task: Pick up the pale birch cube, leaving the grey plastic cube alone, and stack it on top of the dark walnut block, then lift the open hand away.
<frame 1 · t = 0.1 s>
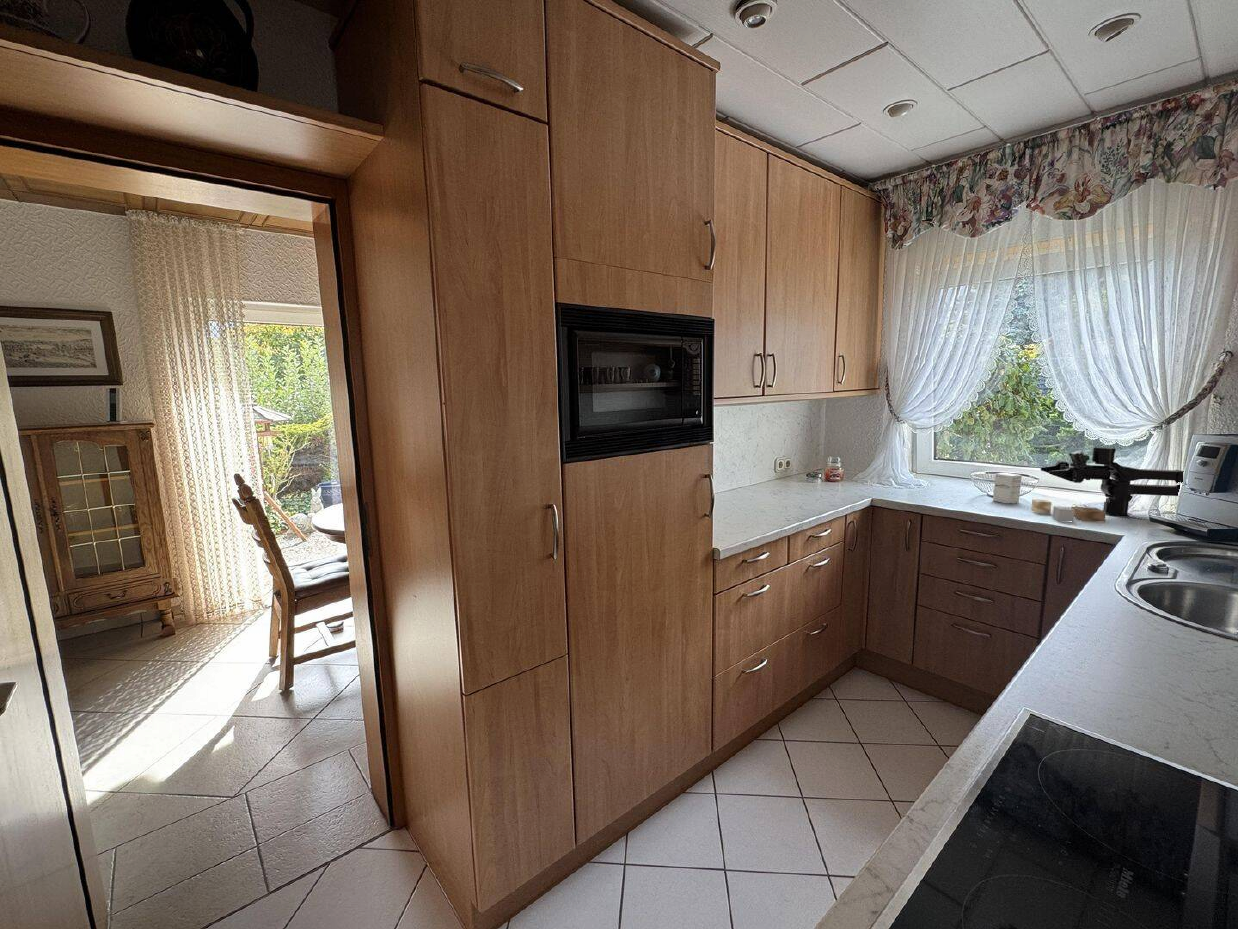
hand: (1044, 470, 231), 17 cm above the table, tool horizontal, fingers open, 9 cm apart
walnut block: (1086, 519, 218), on the table
grey plastic cube: (1062, 520, 216), on the table
supplement box: (1005, 502, 249), on the table
birch cube: (1040, 512, 229), on the table
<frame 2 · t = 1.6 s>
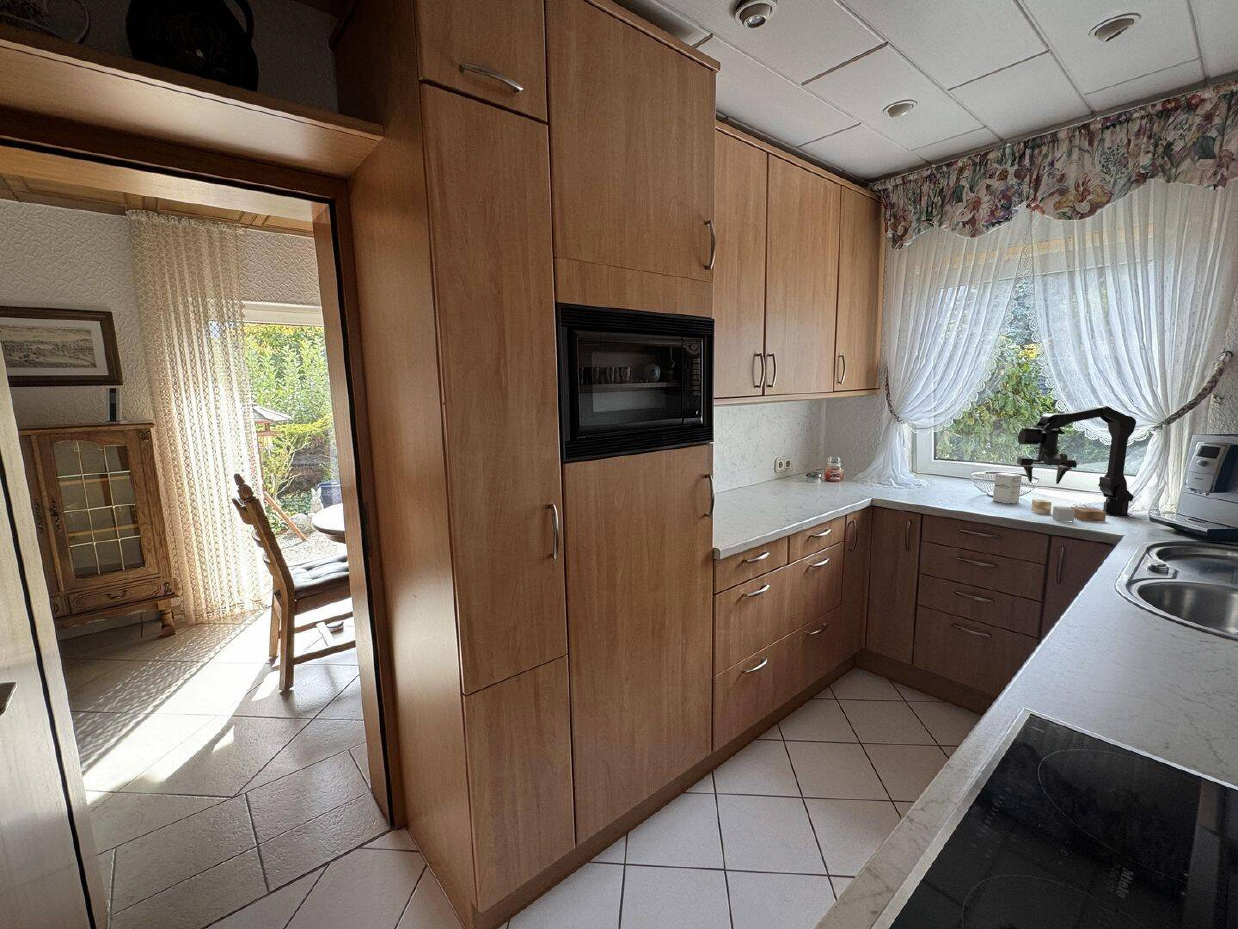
hand: (1043, 483, 227), 12 cm above the table, tool pointing down, fingers open, 9 cm apart
nothing on the table moved.
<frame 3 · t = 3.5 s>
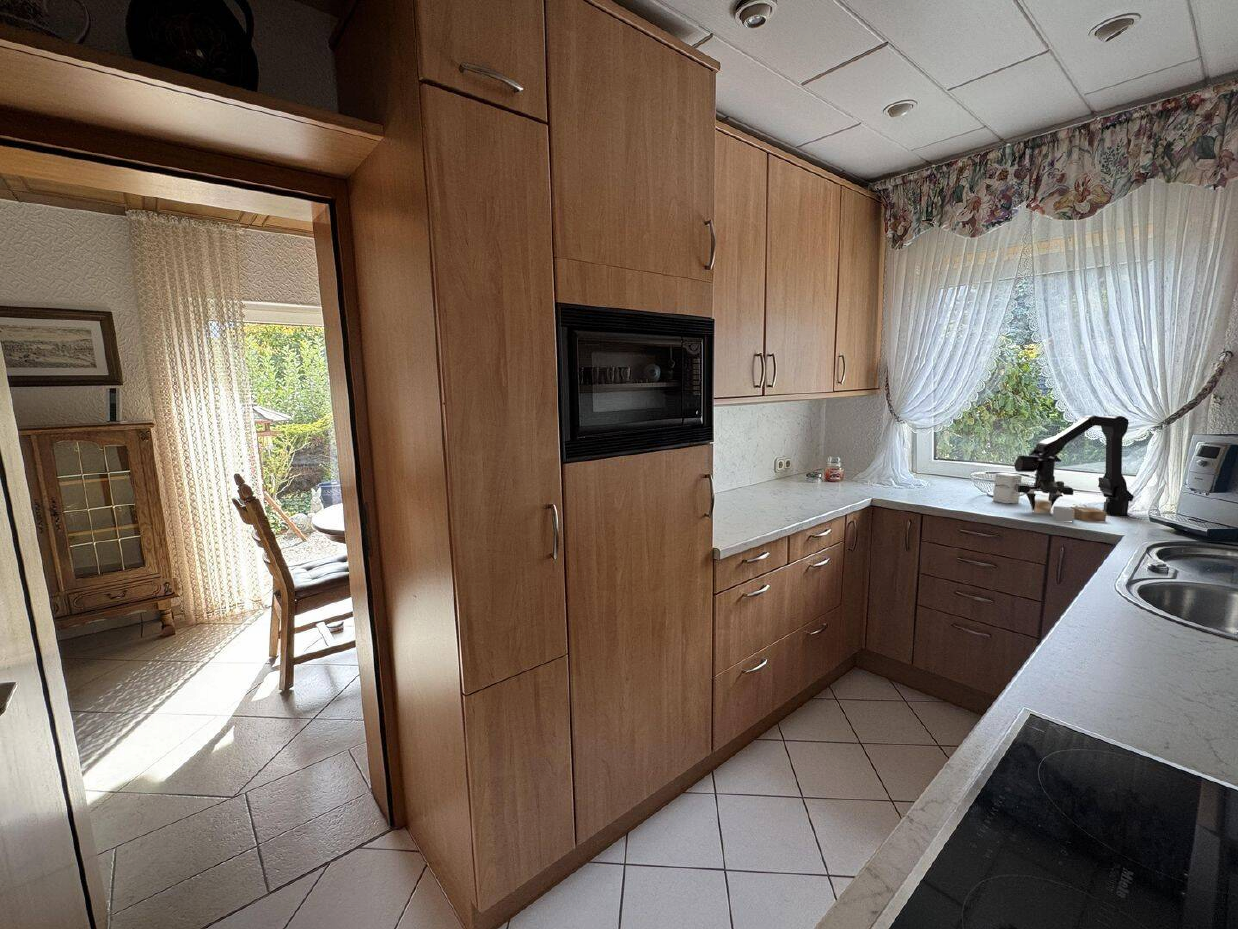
hand: (1040, 509, 229), 1 cm above the table, tool pointing down, fingers closed on birch cube, 5 cm apart
birch cube: (1040, 512, 229), on the table, touching gripper
everything else where it was.
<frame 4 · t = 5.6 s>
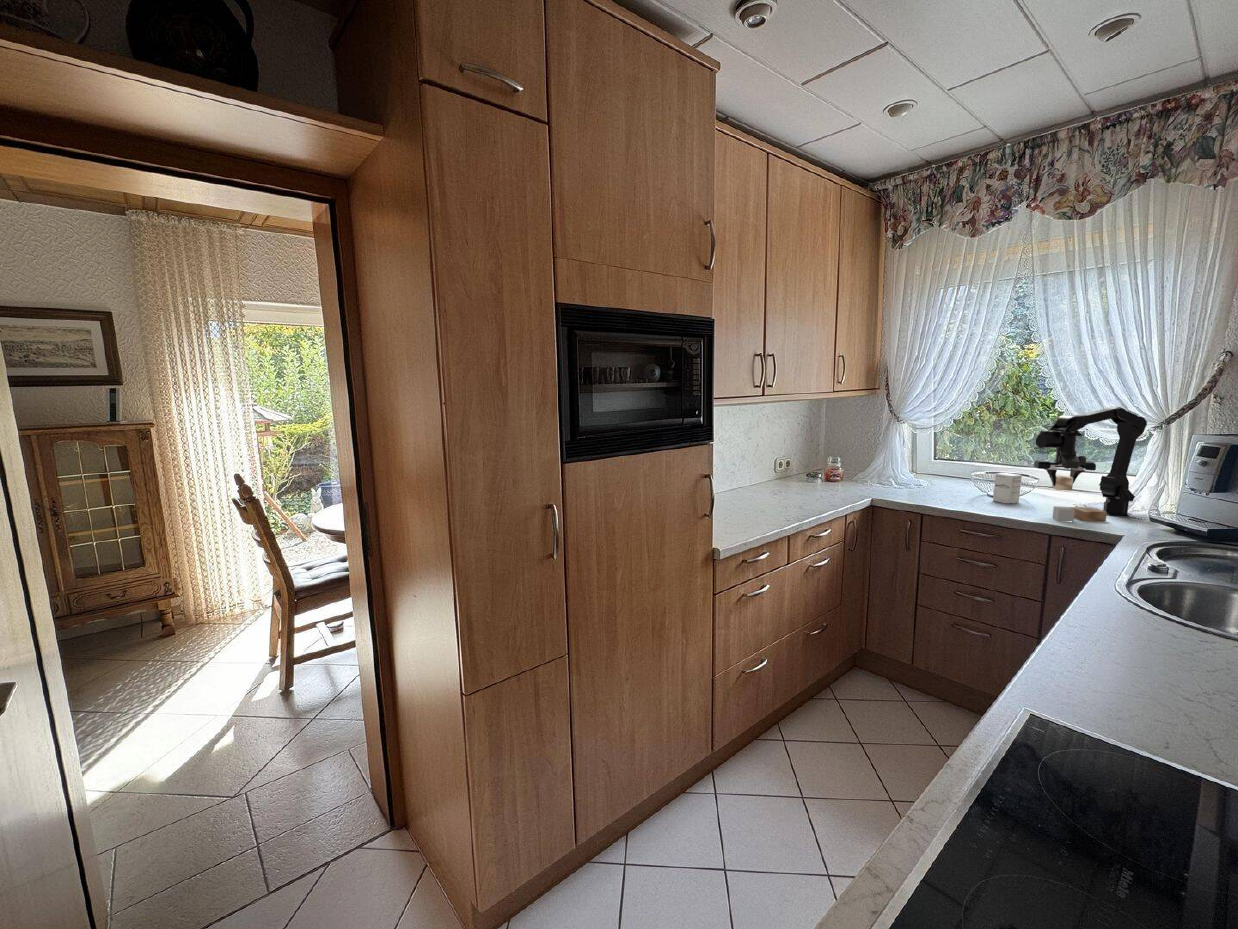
hand: (1062, 486, 223), 12 cm above the table, tool pointing down, fingers closed on birch cube, 5 cm apart
birch cube: (1061, 488, 223), point 11 cm above the table, touching gripper
everything else where it was.
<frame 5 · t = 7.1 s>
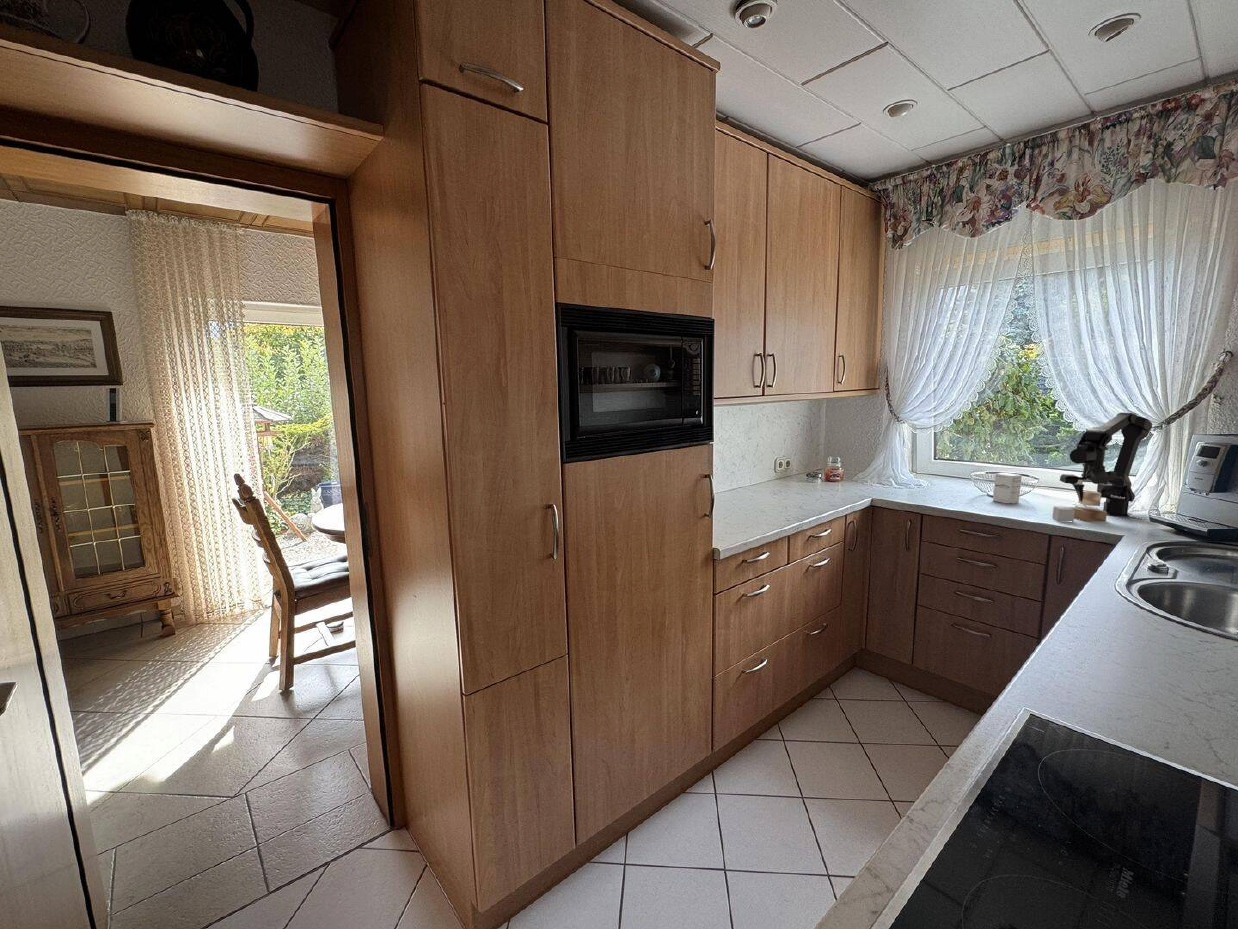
hand: (1089, 501, 217), 7 cm above the table, tool pointing down, fingers closed on birch cube, 5 cm apart
birch cube: (1088, 504, 217), point 6 cm above the table, touching gripper
everything else where it was.
when the fingers open (6 cm above the table, at t = 7.9 s): birch cube drops 2 cm, resting on walnut block.
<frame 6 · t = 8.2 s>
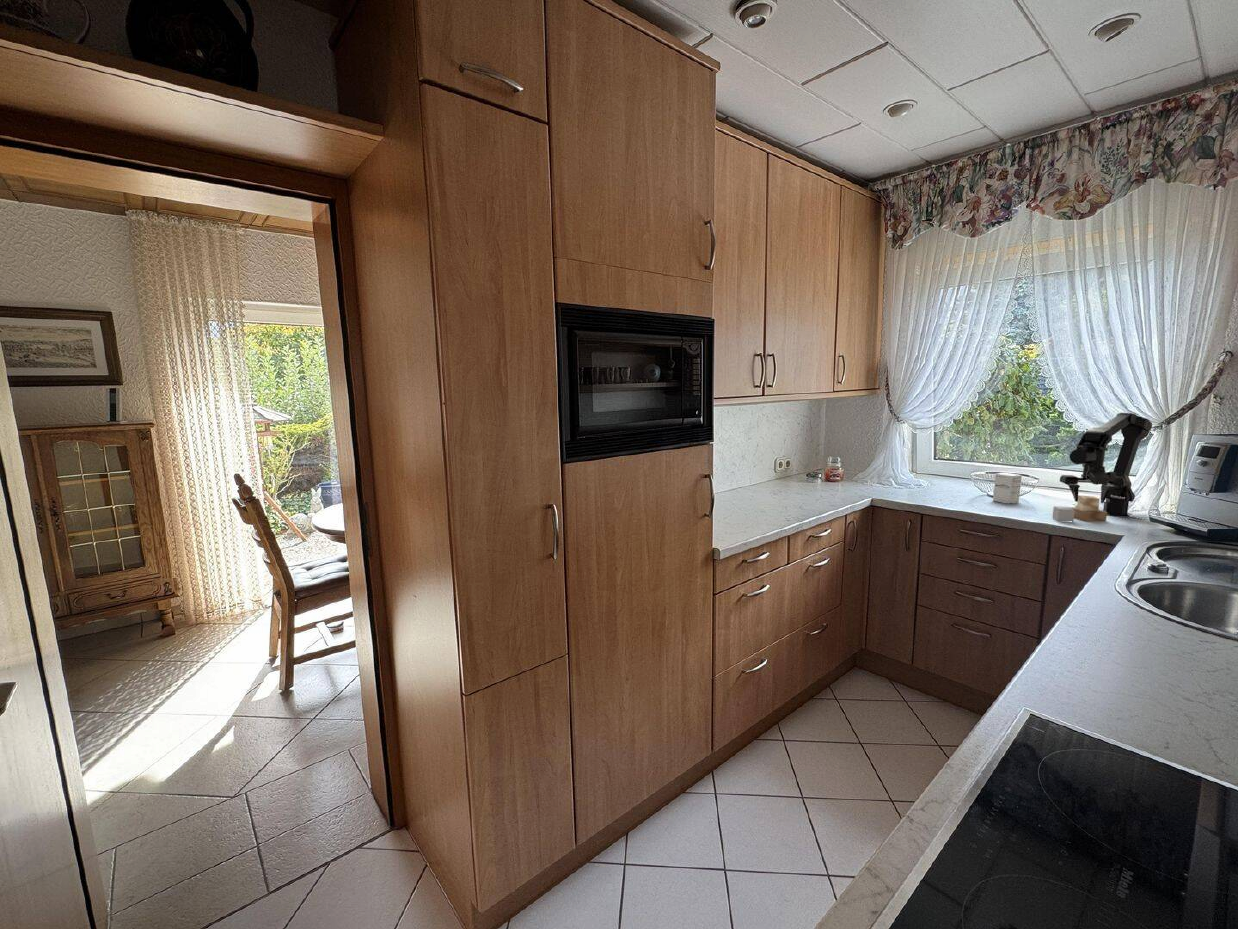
hand: (1088, 502, 217), 6 cm above the table, tool pointing down, fingers open, 8 cm apart
walnut block: (1086, 519, 218), on the table, touching birch cube
birch cube: (1087, 509, 218), point 4 cm above the table, touching walnut block
everything else where it was.
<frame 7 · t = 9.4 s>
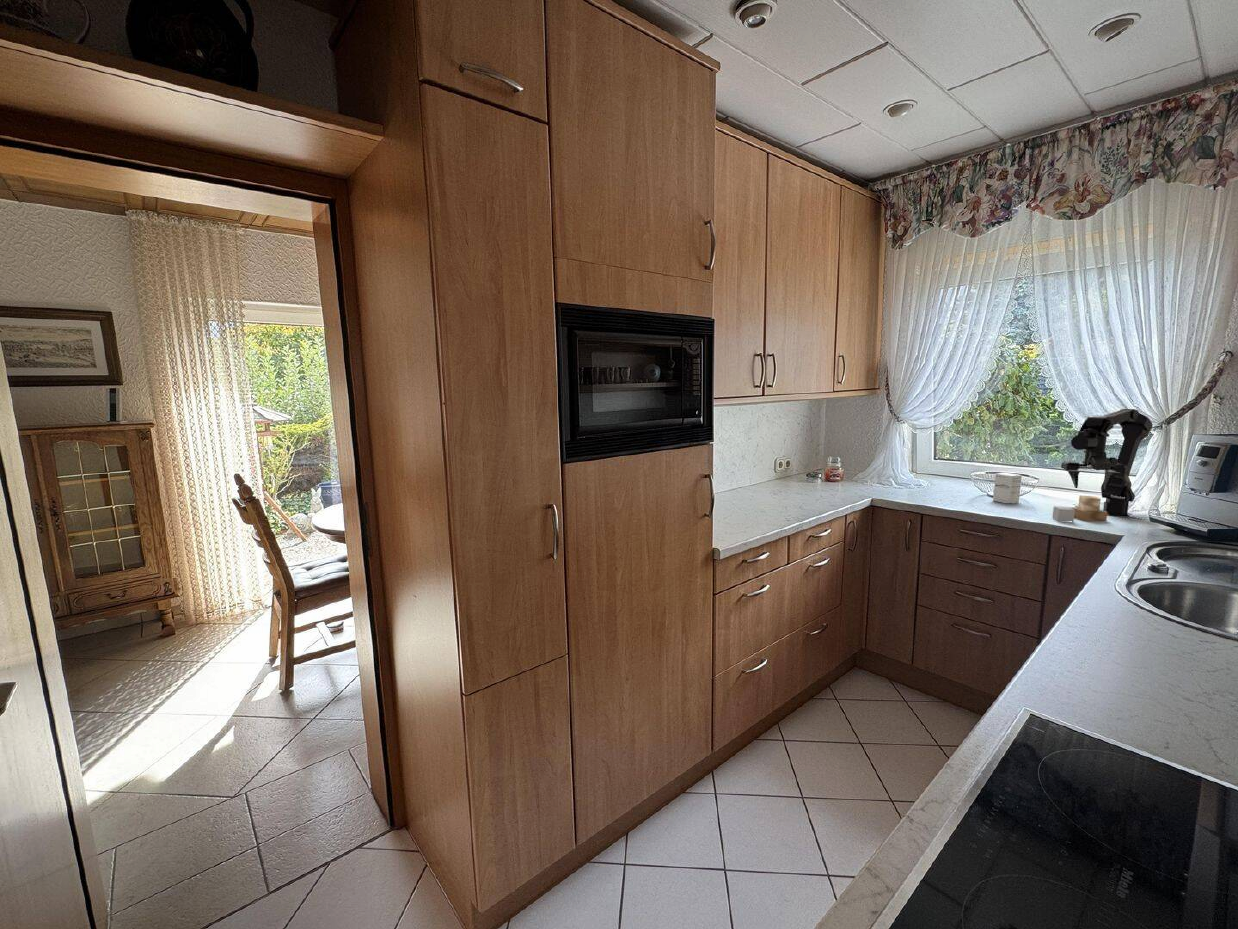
hand: (1090, 488, 216), 12 cm above the table, tool pointing down, fingers open, 9 cm apart
walnut block: (1087, 519, 218), on the table
birch cube: (1088, 509, 218), point 4 cm above the table
everything else where it was.
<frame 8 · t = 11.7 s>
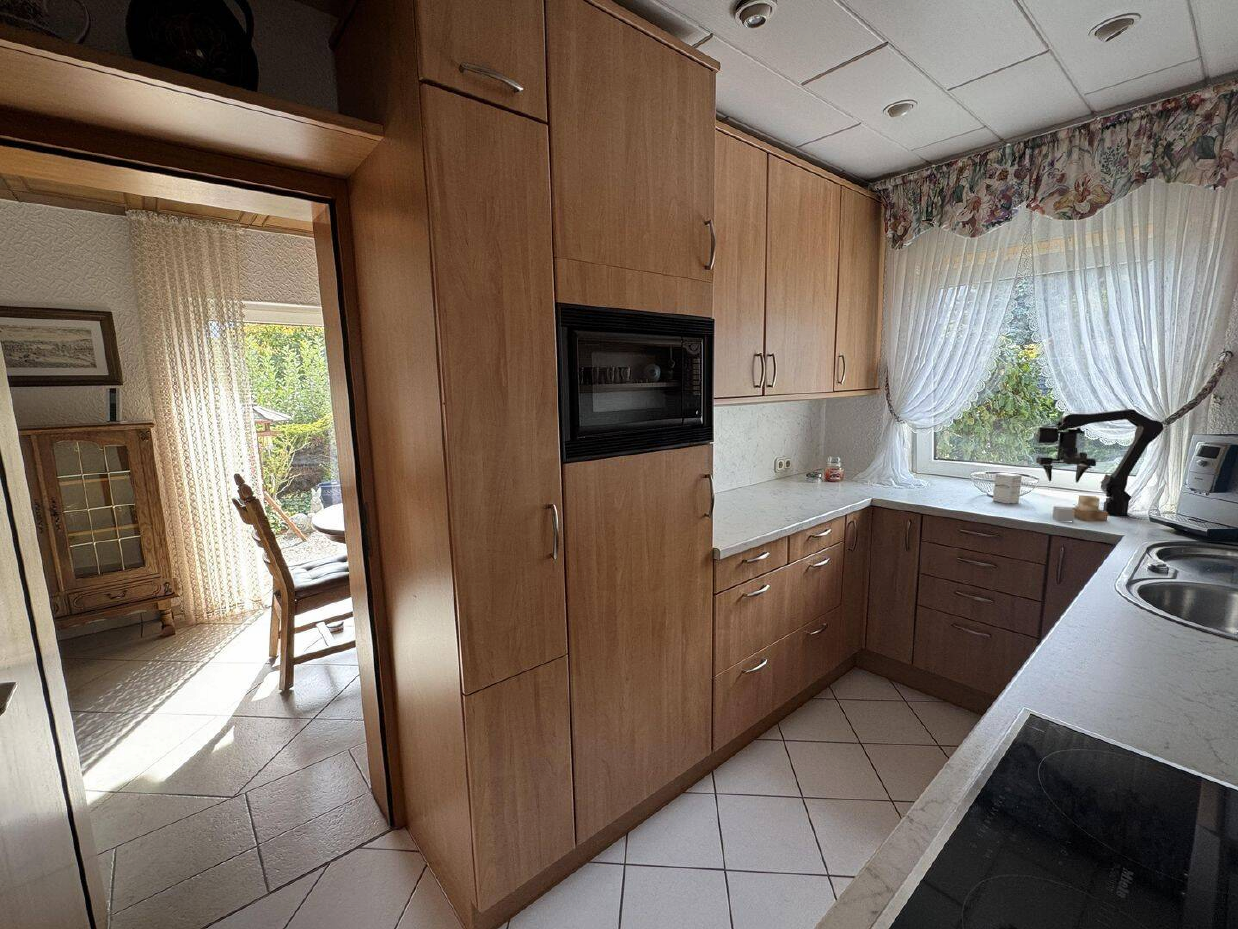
hand: (1063, 481, 231), 12 cm above the table, tool pointing down, fingers open, 9 cm apart
walnut block: (1087, 519, 218), on the table, touching birch cube
birch cube: (1087, 509, 218), point 4 cm above the table, touching walnut block
everything else where it was.
at the end: birch cube 0.5 cm off-centre on the walnut block, point 4.1 cm above the walnut block's base; birch cube tilted 1°; the gripper is holding nothing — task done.
